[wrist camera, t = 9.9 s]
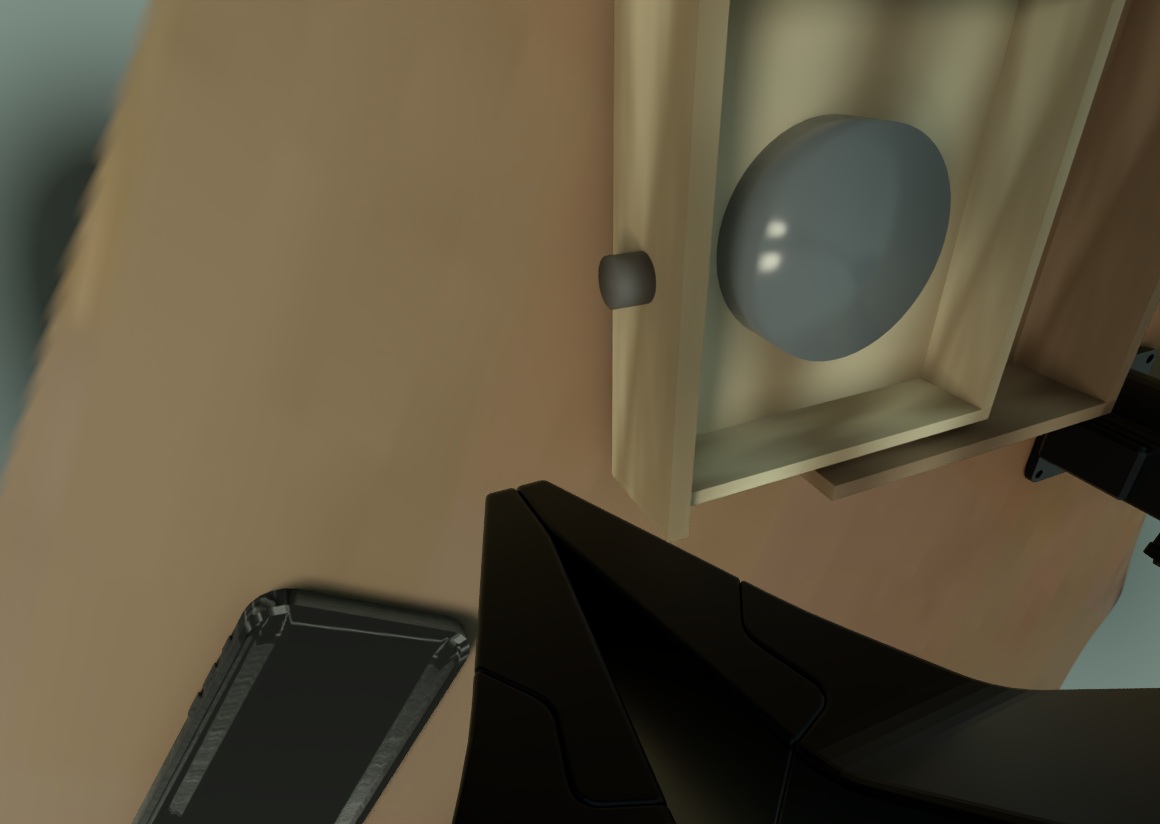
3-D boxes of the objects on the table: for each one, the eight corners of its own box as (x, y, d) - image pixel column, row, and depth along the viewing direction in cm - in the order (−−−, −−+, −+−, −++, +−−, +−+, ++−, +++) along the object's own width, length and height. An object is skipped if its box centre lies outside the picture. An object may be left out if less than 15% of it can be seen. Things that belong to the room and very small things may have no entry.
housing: (1152, -61, 22) (1324, -80, 19) (1009, 368, 30) (1110, 412, 27) (816, -73, 18) (957, -101, 14) (751, 435, 26) (832, 501, 22)
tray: (1029, -52, 20) (1172, -69, 17) (913, 394, 28) (997, 440, 24) (574, -64, 15) (657, -90, 12) (585, 481, 23) (637, 552, 20)
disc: (730, 118, 18) (776, 126, 17) (922, 109, 21) (978, 116, 19) (705, 353, 22) (741, 378, 20) (872, 322, 24) (916, 343, 22)
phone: (481, 636, 24) (305, 914, 27) (473, 614, 25) (303, 886, 28) (255, 598, 20) (77, 934, 23) (255, 573, 21) (84, 900, 24)
